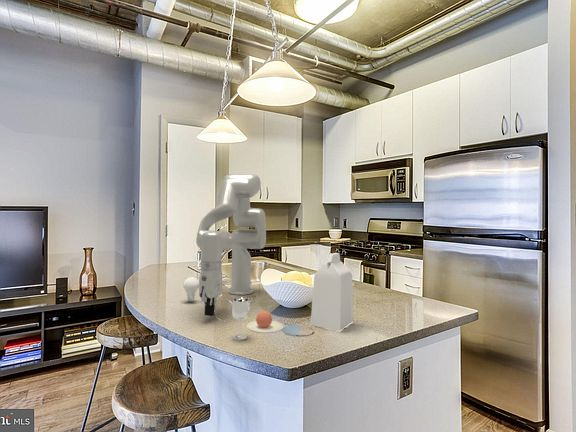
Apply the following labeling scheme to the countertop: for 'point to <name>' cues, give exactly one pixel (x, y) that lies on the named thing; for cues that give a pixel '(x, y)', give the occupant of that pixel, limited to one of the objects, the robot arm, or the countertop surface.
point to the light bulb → (191, 287)
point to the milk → (332, 295)
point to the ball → (264, 319)
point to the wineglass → (240, 314)
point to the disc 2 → (291, 329)
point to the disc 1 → (273, 327)
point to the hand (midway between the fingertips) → (209, 315)
